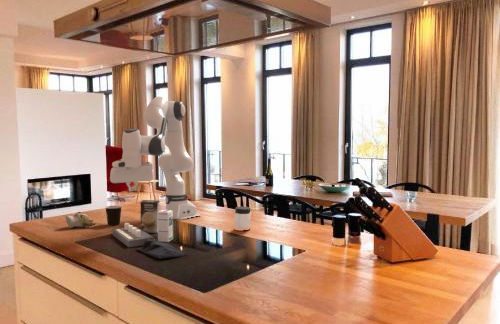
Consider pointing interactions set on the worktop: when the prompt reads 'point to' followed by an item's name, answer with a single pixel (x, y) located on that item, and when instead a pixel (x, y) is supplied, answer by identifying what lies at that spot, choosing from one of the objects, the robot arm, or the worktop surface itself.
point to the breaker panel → (131, 237)
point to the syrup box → (165, 225)
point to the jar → (242, 217)
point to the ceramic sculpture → (79, 220)
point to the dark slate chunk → (159, 249)
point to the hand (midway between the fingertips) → (132, 191)
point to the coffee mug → (113, 215)
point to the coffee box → (149, 216)
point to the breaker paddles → (132, 230)
